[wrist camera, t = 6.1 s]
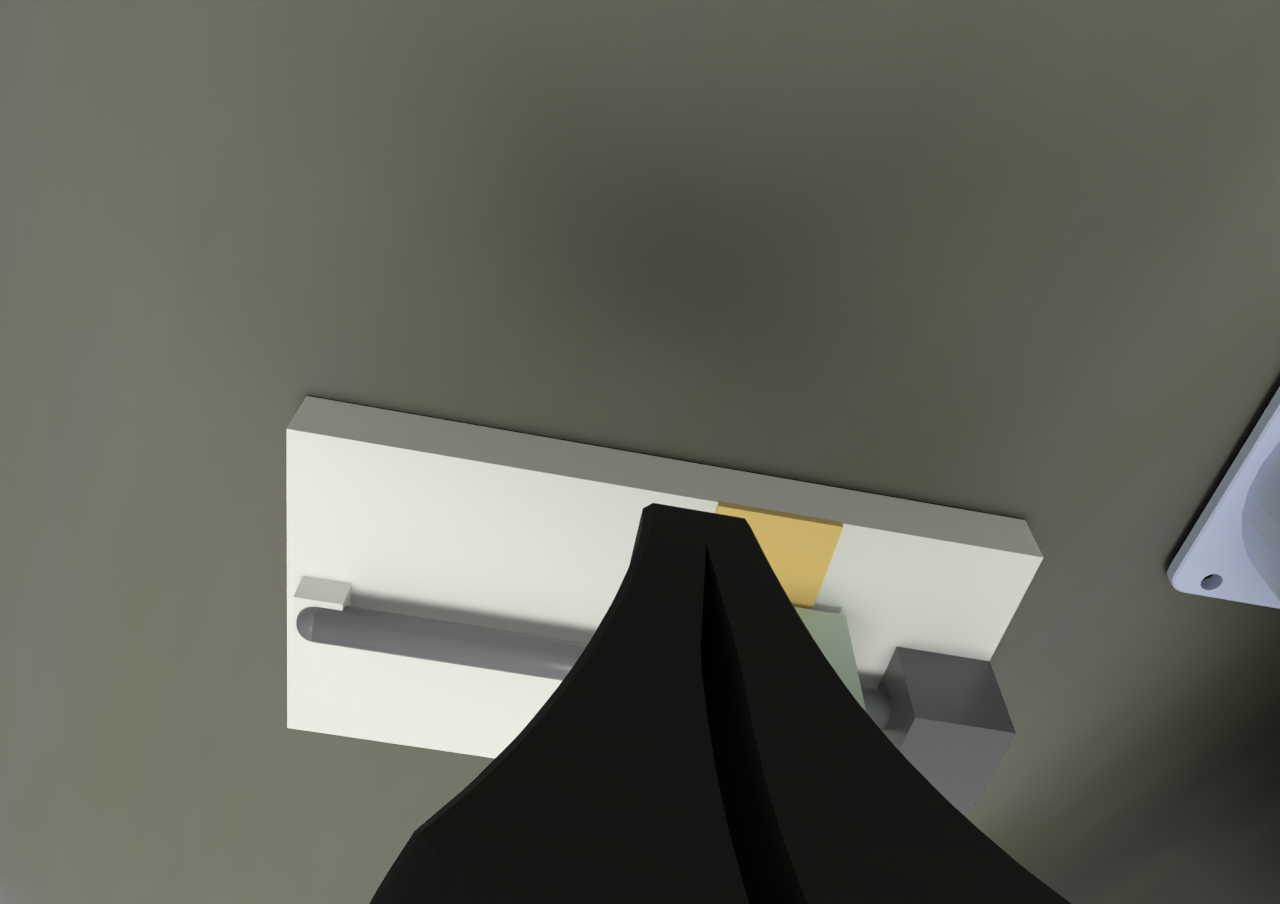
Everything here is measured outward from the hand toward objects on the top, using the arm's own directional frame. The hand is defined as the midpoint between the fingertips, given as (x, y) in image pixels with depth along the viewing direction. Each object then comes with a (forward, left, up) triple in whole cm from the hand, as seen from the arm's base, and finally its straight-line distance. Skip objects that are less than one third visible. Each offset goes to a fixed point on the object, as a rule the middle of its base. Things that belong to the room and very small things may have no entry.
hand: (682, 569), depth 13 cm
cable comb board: (-1, +10, -10) cm, 14 cm away
